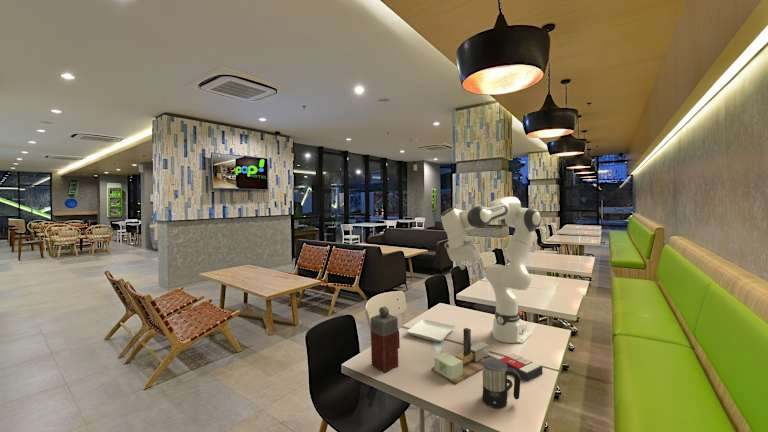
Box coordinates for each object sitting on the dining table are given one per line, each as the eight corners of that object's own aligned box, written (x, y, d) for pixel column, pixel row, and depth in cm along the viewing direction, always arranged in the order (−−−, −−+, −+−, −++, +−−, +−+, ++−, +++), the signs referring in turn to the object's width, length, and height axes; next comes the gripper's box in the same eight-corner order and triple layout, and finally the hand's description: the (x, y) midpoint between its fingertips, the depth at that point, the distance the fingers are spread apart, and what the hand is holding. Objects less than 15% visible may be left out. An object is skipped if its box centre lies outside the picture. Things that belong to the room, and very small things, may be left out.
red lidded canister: (402, 364, 153) (401, 305, 151) (384, 373, 145) (383, 312, 143) (388, 357, 159) (387, 301, 157) (371, 365, 152) (370, 307, 150)
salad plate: (456, 331, 188) (456, 325, 188) (442, 346, 170) (442, 339, 170) (422, 323, 200) (422, 318, 199) (406, 337, 182) (406, 331, 181)
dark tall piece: (480, 350, 159) (480, 321, 158) (486, 353, 157) (486, 323, 156) (455, 362, 149) (455, 331, 148) (461, 365, 146) (461, 333, 145)
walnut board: (474, 349, 165) (474, 348, 165) (498, 361, 154) (498, 359, 154) (431, 370, 147) (431, 368, 147) (455, 384, 136) (455, 382, 136)
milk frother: (485, 409, 121) (485, 370, 120) (473, 383, 137) (473, 349, 135) (524, 408, 121) (524, 369, 120) (507, 383, 137) (508, 348, 135)
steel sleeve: (479, 351, 161) (479, 341, 161) (489, 356, 156) (489, 345, 156) (466, 358, 155) (466, 347, 155) (476, 363, 150) (476, 352, 150)
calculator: (513, 352, 156) (542, 364, 143) (513, 361, 156) (543, 374, 143) (497, 358, 150) (526, 372, 137) (497, 367, 150) (527, 382, 137)
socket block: (445, 364, 150) (445, 352, 149) (462, 374, 142) (462, 361, 141) (434, 370, 146) (434, 357, 145) (451, 380, 138) (451, 366, 137)
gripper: (477, 237, 147) (488, 266, 147) (452, 240, 166) (461, 266, 166) (467, 242, 145) (478, 272, 145) (442, 245, 163) (452, 271, 163)
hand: (469, 269), depth 155 cm, fingers open, 8 cm apart
